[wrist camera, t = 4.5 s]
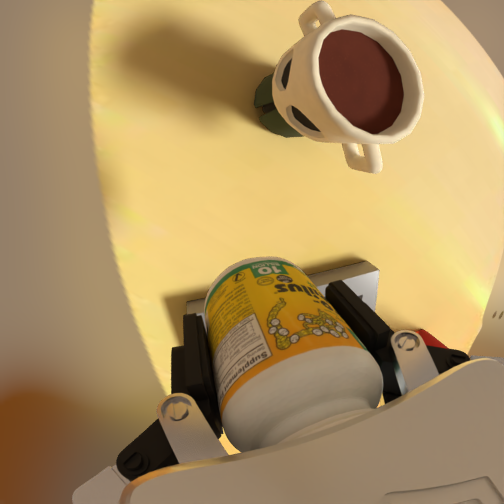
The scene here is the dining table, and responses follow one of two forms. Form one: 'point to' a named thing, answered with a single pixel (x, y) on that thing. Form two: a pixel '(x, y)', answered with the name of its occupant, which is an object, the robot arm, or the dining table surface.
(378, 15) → the dining table surface
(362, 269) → the drink carrier
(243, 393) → the supplement bottle
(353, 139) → the character mug
